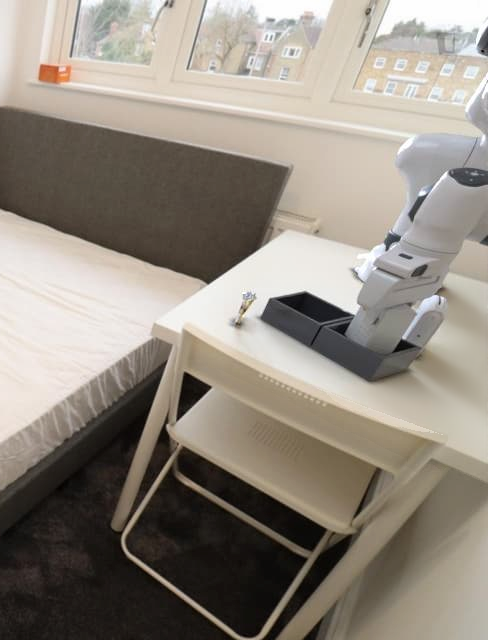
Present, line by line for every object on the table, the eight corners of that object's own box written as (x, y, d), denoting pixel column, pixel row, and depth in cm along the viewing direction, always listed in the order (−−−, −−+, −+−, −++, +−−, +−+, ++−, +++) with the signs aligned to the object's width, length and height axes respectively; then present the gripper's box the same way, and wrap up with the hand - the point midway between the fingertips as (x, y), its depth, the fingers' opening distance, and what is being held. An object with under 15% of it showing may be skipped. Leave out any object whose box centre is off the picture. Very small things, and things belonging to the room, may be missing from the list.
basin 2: (347, 338, 117) (359, 317, 114) (407, 369, 107) (422, 347, 104) (310, 347, 113) (322, 326, 109) (369, 381, 103) (384, 358, 100)
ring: (240, 330, 117) (254, 300, 113) (226, 325, 119) (239, 295, 115) (248, 319, 122) (262, 290, 117) (235, 315, 124) (247, 285, 119)
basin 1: (295, 310, 127) (305, 290, 124) (345, 337, 117) (358, 316, 114) (259, 318, 123) (269, 298, 120) (308, 346, 113) (320, 325, 110)
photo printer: (418, 360, 111) (453, 311, 103) (394, 352, 113) (427, 303, 106) (420, 342, 117) (453, 294, 110) (397, 335, 119) (429, 288, 112)
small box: (389, 357, 105) (419, 313, 98) (360, 353, 105) (388, 309, 99) (370, 337, 111) (397, 295, 105) (343, 334, 112) (368, 291, 106)
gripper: (435, 246, 102) (396, 306, 110) (370, 257, 95) (335, 320, 103) (470, 258, 98) (428, 320, 106) (406, 271, 91) (365, 336, 99)
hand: (381, 320), depth 104 cm, fingers closed on small box, 8 cm apart
